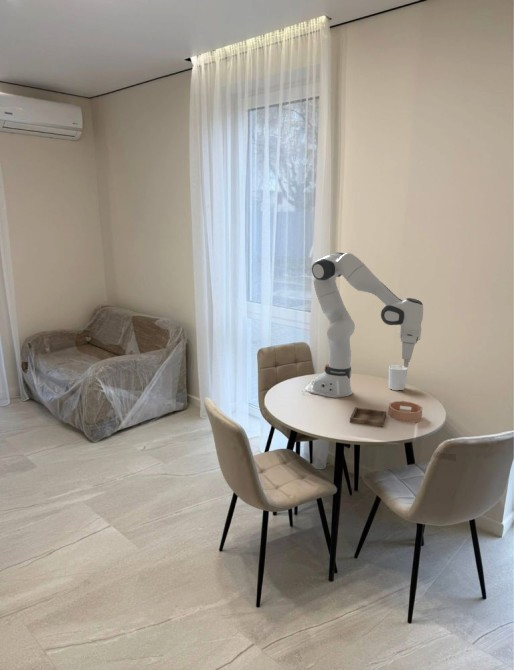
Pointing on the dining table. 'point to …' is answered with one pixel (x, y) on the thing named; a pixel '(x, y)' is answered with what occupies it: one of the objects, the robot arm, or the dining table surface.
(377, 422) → the walnut tray
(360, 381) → the dining table surface
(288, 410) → the dining table surface
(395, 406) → the terracotta bowl
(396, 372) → the candle holder
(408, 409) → the off-white cube block
